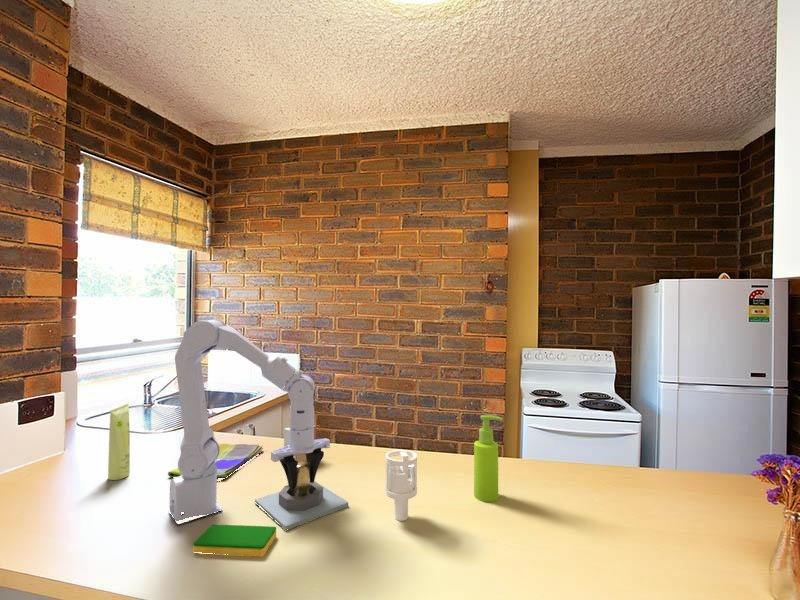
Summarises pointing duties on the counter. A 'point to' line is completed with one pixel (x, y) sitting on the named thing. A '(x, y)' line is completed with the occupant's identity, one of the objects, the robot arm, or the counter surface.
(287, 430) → the small box
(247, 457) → the dish towel
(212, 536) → the dish sponge
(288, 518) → the ring plate
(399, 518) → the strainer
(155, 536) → the counter surface
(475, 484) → the soap dispenser
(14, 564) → the counter surface
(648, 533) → the counter surface
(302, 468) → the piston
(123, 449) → the tube
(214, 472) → the robot arm
